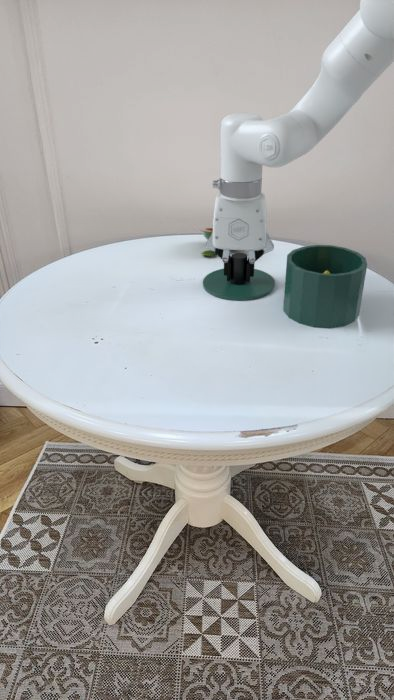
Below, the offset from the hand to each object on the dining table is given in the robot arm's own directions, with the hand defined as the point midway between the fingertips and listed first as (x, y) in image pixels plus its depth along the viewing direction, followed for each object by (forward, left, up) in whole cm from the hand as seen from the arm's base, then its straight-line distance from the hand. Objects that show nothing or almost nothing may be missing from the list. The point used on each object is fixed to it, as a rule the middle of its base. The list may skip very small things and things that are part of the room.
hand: (238, 278), depth 107 cm
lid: (0, 0, -1) cm, 1 cm away
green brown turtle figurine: (+6, -19, -2) cm, 20 cm away
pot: (-16, +9, -2) cm, 18 cm away
